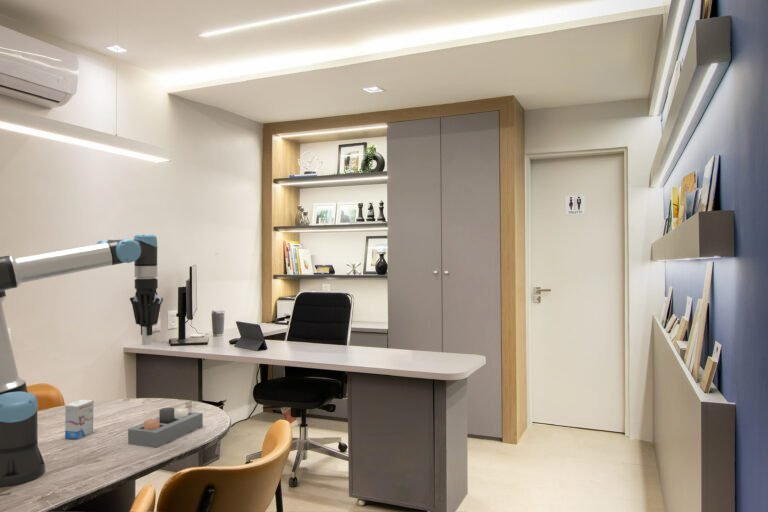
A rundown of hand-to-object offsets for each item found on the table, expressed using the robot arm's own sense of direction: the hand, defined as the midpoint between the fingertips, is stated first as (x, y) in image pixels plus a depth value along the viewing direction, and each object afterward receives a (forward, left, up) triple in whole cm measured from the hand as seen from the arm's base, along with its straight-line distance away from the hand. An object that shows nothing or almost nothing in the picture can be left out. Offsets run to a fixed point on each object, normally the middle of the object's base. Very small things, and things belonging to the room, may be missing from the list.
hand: (146, 344), depth 201 cm
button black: (+3, -6, -29) cm, 30 cm away
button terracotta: (-4, -6, -31) cm, 32 cm away
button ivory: (+10, -6, -31) cm, 34 cm away
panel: (+3, -6, -32) cm, 33 cm away
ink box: (-8, +23, -33) cm, 41 cm away
